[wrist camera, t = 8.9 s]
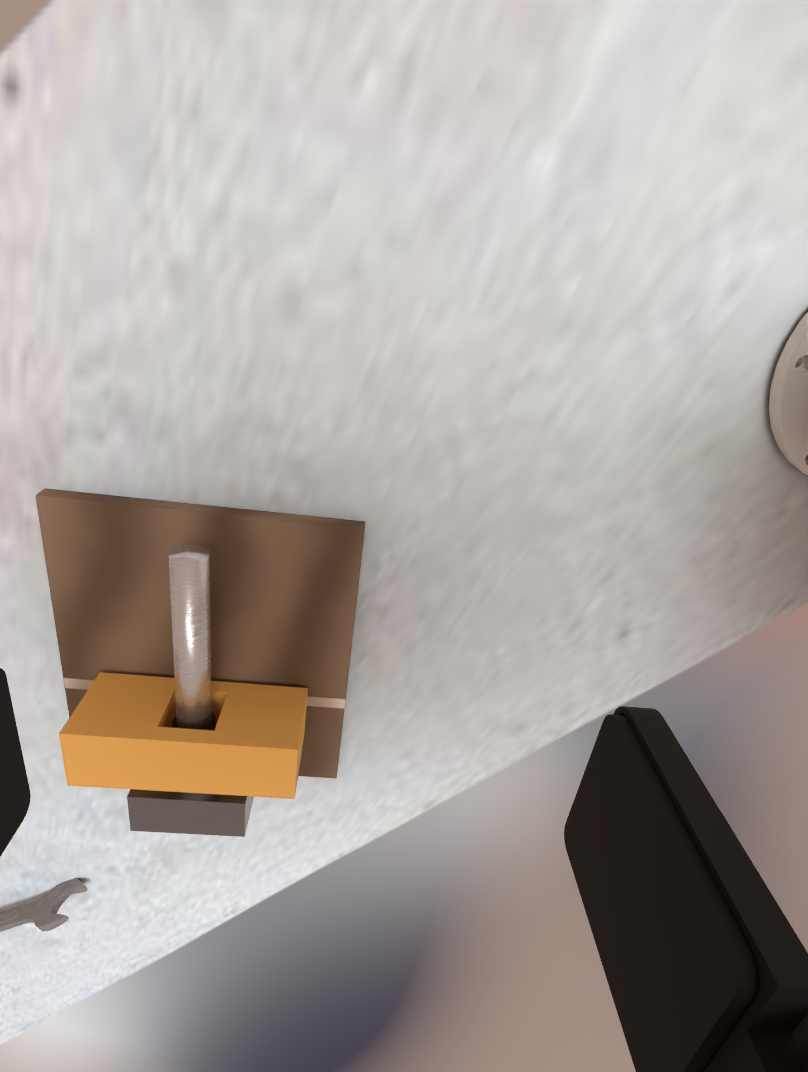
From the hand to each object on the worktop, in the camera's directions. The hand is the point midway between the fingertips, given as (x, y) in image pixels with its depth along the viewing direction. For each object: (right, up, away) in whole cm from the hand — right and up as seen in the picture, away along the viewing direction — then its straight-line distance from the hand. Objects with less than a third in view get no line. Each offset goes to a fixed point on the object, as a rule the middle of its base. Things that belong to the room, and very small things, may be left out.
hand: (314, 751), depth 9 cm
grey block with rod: (-11, -5, +28) cm, 30 cm away
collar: (-11, -8, +29) cm, 32 cm away
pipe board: (-11, -4, +28) cm, 31 cm away
